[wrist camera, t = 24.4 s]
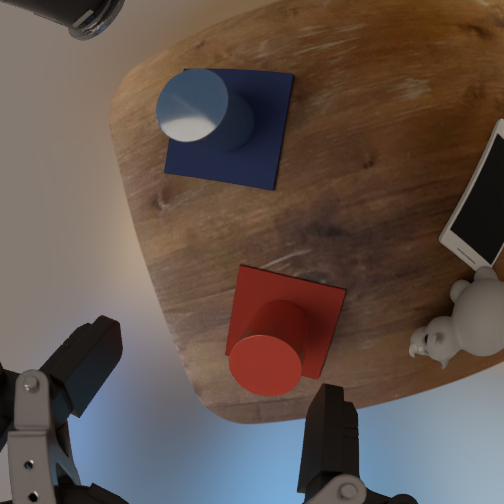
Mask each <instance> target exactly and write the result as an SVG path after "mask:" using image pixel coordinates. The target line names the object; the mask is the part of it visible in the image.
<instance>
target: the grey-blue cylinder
mask: <svg viewBox="0 0 504 504" xmlns="http://www.w3.org/2000/svg"><path fill="white" fill-rule="evenodd" d="M156 115H157V120H158V123H159V126H160V128H161V129H162V131H163V132H164V133H165V134H166V135H167V136H168V137H169V138H171V139H173V140H175V141H178V142H182V143H186V144H190V145H194V146H197V147H201V148H205V149H208V150H212V151H216V152H230V151H233V150H235V149H237V148H239V147H241V146H242V145H243V144H244V143H245V142H246V141H247V140H248V139H249V137H250V136H251V134H252V131H253V128H254V122H255V119H254V113H253V110H252V108H251V106H250V105H249V103H248V102H247V101H246V100H245V99H244V98H243V97H241V96H240V95H239V94H238V93H237V92H236V91H235V90H234V89H233V88H232V87H231V86H230V85H228V84H227V83H226V82H225V81H224V80H223V79H222V78H221V77H219V76H218V75H217V74H216V73H214V72H212V71H210V70H206V69H199V68H198V69H190V70H186V71H184V72H181V73H179V74H178V75H176V76H175V77H173V78H172V79H171V80H170V81H169V82H168V83H167V84H166V85H165V87H164V88H163V90H162V92H161V93H160V96H159V98H158V102H157V107H156Z"/></svg>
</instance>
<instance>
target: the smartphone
mask: <svg viewBox="0 0 504 504" xmlns="http://www.w3.org/2000/svg"><path fill="white" fill-rule="evenodd" d="M439 242H440V243H442V244H443V245H444V246H445V247H447V248H448V249H449V250H450V251H452V252H453V253H454V254H455V255H457V256H458V257H459V258H460V259H461V260H463V261H464V262H465V263H466V264H467V265H469V266H470V267H471V268H472V269H473V270H474V271H477V270H478V269H479V268H480V267H483V266H487V267H490V268H492V266H493V264H494V263H495V261H496V259H497V258H498V256H499V254H500V252H501V251H502V249H503V247H504V119H500V120H498V121H497V122H496V124H495V127H494V129H493V132H492V134H491V137H490V139H489V141H488V144H487V146H486V148H485V150H484V153H483V155H482V157H481V159H480V161H479V164H478V166H477V168H476V170H475V172H474V174H473V176H472V178H471V180H470V182H469V184H468V186H467V188H466V190H465V192H464V194H463V196H462V197H461V199H460V201H459V203H458V205H457V207H456V208H455V210H454V212H453V214H452V216H451V217H450V219H449V221H448V223H447V224H446V226H445V228H444V229H443V231H442V233H441V234H440V237H439Z"/></svg>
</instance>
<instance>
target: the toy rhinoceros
mask: <svg viewBox="0 0 504 504" xmlns="http://www.w3.org/2000/svg"><path fill="white" fill-rule="evenodd" d="M450 298H451V300H452V301H453V302H454V303H455V305H454V309H453V313H452V316H451V317H448V316H440V317H437V318H434V319H433V320H432V321H431V322H430V323H429V324H428V325H427V326H424V327H419V328H417V329H416V330H415V331H414V332H413V333H412V335H411V338H410V348H409V354H410V355H411V356H412V357H415V356H414V354H415V353H417V354H421V355H428V356H430V357H431V358H432V359H435V360H438V361H440V362H441V364H442V369H445V368H446V366H447V364H448V361H449V359H450V358H452V357H453V356H454V355H455V354H456V353H457V352H458V351H459V350H460V349H463V350H466V351H467V352H469V353H471V354H473V355H477V356H488V355H492V354H495V353H497V352H499V351H500V350H502V349H503V348H504V283H503V282H501V281H499V280H498V277H497V275H496V273H495V272H494V270H493V269H491V268H490V267H487V266H483V267H480V268H479V269H478V270H477V271H476V273H475V276H474V282H473V283H471V284H470V283H469V282H468V281H466V280H457V281H456V282H455V283H454V284H453V285H452V287H451V289H450Z"/></svg>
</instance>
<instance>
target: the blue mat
mask: <svg viewBox="0 0 504 504" xmlns="http://www.w3.org/2000/svg"><path fill="white" fill-rule="evenodd" d="M186 70H190V69H184V70H183V72H184V71H186ZM206 70H210V71H212V72H214V73H216V74H217V75H218V76H219V77H221V78H222V79H223V80H224V81H225V82H226V83H227V84H228V85H230V86H231V87H232V88H233V89H234V90H235V91H236V92H237V93H238V94H239V95H240V96H241V97H243V98H244V99H245V100H246V101H247V102H248V103H249V105H250V106H251V108H252V110H253V113H254V119H255V122H254V128H253V131H252V134H251V136H250V137H249V139H248V140H247V141H246V142H245V143H244V144H243V145H242V146H241V147H239V148H237V149H235V150H233V151H230V152H216V151H212V150H208V149H205V148H201V147H197V146H194V145H190V144H186V143H182V142H178V141H175V140H173V139H171V138H170V139H169V145H168V151H167V157H166V164H165V171H164V173H168V174H175V175H182V176H189V177H196V178H203V179H209V180H215V181H221V182H227V183H233V184H239V185H245V186H251V187H256V188H262V189H267V190H272V191H273V190H274V185H275V180H276V174H277V168H278V163H279V157H280V151H281V146H282V140H283V134H284V129H285V123H286V117H287V111H288V106H289V100H290V94H291V88H292V82H293V76H294V75H293V74H287V73H278V72H267V71H255V70H237V69H206Z"/></svg>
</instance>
